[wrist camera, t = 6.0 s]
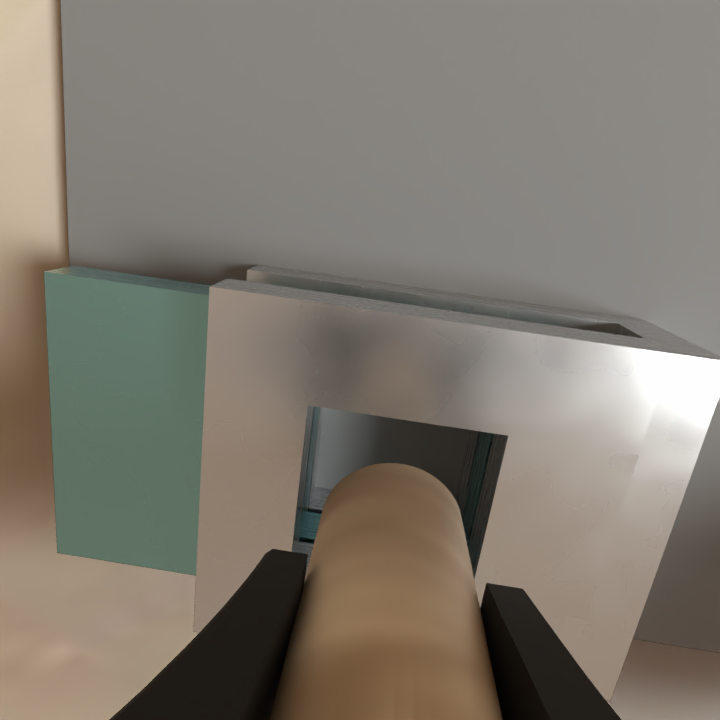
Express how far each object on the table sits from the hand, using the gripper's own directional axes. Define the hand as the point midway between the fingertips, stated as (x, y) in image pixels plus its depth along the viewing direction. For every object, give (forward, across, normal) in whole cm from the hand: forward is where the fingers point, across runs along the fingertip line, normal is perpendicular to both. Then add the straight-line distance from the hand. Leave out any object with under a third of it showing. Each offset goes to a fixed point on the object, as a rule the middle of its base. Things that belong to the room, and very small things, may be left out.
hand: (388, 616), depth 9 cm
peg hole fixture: (+7, +1, 0) cm, 7 cm away
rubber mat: (+8, -1, -4) cm, 9 cm away
